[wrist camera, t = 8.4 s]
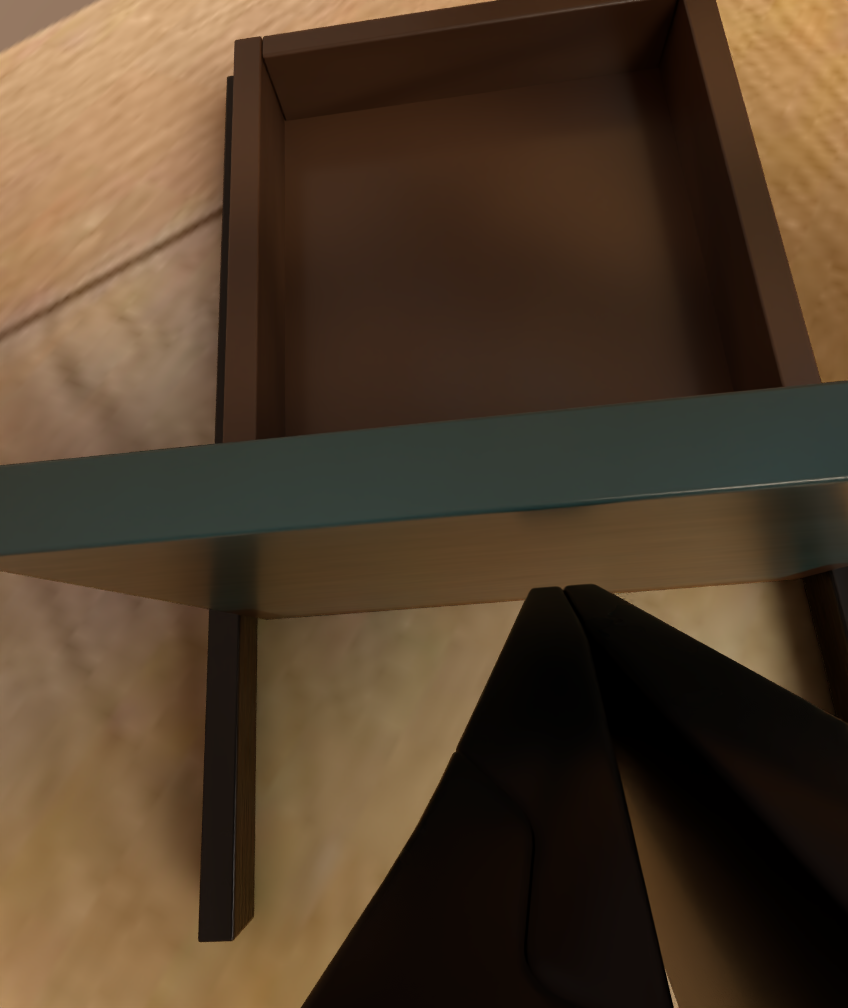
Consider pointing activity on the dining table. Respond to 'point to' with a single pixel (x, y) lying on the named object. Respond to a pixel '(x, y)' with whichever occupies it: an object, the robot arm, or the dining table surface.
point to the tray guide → (233, 688)
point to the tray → (479, 335)
